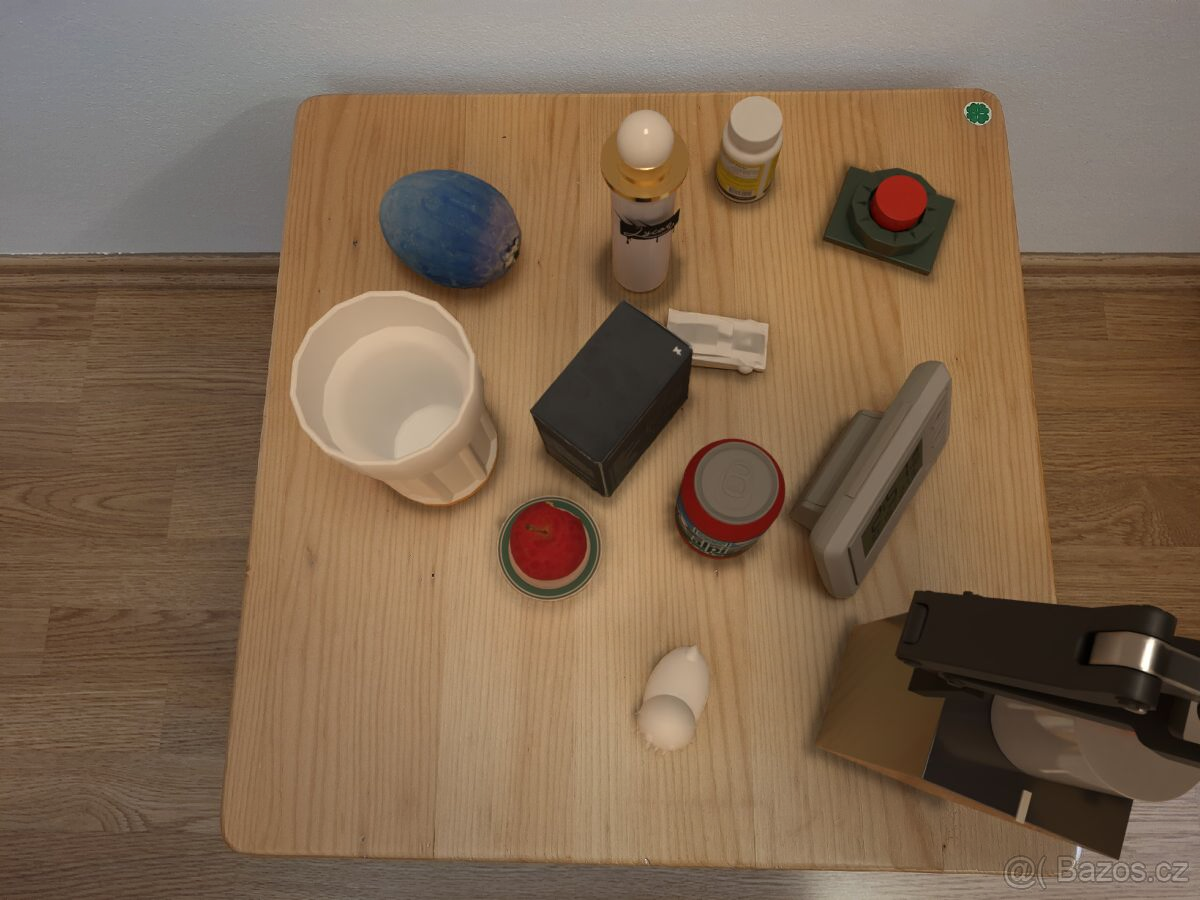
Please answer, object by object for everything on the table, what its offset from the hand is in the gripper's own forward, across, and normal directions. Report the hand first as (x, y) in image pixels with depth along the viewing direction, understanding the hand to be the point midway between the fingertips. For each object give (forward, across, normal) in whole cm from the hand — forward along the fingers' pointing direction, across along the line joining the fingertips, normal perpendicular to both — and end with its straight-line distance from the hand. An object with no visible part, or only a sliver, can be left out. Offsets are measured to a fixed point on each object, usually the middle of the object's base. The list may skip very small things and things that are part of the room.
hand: (1078, 724), depth 38 cm
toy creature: (+27, +15, +5) cm, 32 cm away
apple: (+27, +27, -2) cm, 39 cm away
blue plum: (+27, +42, -22) cm, 55 cm away
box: (+27, +26, -12) cm, 40 cm away
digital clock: (+27, +7, -14) cm, 31 cm away
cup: (+27, +38, -6) cm, 48 cm away
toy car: (+27, +21, -22) cm, 41 cm away
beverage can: (+27, +16, -8) cm, 33 cm away
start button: (+25, +12, -37) cm, 46 cm away
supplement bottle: (+27, +24, -36) cm, 52 cm away
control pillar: (+27, 0, 0) cm, 27 cm away
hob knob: (+3, 0, 0) cm, 3 cm away
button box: (+27, +12, -37) cm, 47 cm away
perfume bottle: (+27, +30, -26) cm, 48 cm away
